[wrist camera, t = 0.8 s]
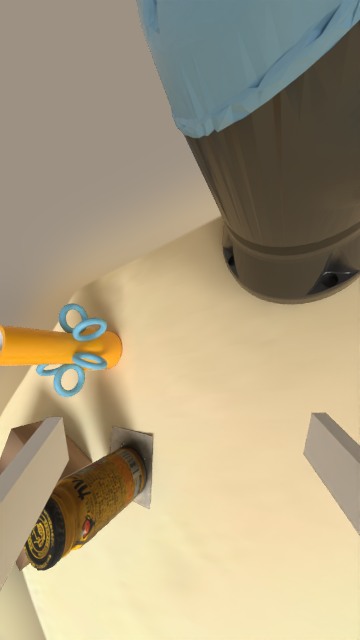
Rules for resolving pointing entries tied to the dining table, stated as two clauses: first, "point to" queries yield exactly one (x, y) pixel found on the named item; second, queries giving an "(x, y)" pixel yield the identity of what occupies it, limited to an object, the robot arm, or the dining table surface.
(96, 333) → the cylinder
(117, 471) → the condiment
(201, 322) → the dining table surface
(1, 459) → the riser
